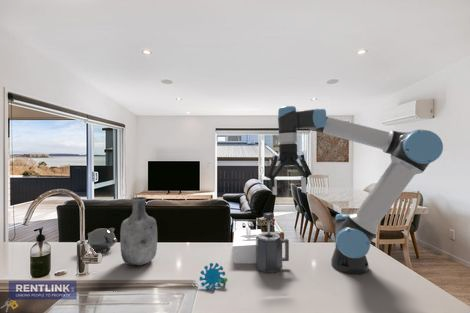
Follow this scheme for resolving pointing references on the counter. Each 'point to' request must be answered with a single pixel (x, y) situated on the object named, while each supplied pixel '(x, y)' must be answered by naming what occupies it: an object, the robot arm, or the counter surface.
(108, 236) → the piggy bank
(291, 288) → the counter surface
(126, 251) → the vase
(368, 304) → the counter surface
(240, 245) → the tissue box
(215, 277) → the gear
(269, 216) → the plunger
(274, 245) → the carafe
